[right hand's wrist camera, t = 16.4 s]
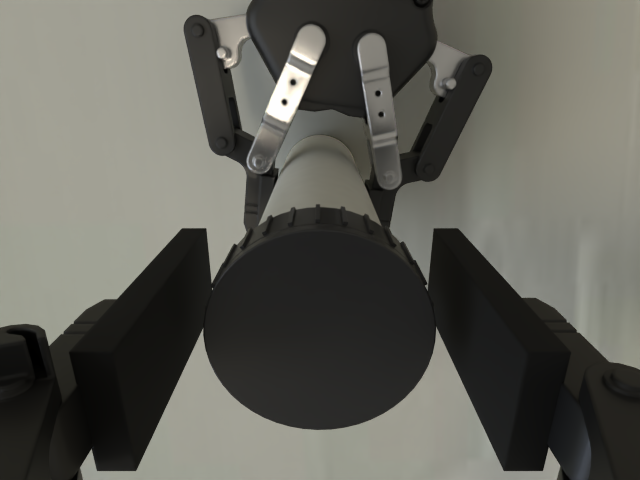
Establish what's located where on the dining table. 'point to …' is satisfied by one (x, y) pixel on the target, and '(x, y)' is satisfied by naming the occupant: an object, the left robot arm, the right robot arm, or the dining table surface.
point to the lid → (319, 319)
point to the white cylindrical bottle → (320, 180)
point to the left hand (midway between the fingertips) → (314, 244)
